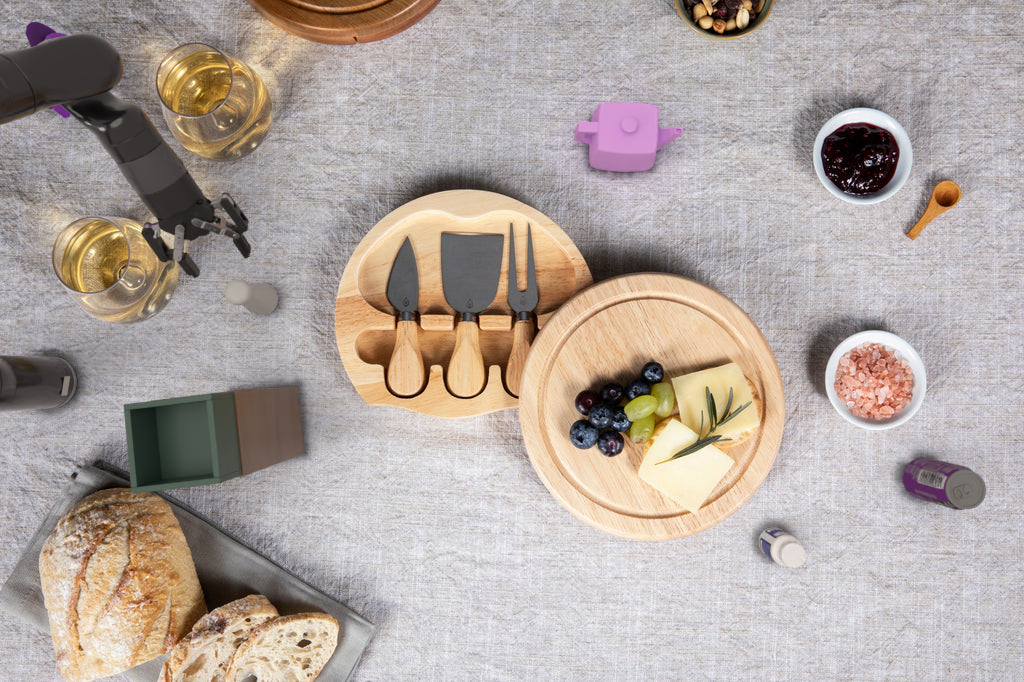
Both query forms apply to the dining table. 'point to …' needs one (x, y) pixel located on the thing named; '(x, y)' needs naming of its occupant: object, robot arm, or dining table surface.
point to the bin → (182, 442)
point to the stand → (267, 426)
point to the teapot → (624, 136)
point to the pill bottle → (782, 547)
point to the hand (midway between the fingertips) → (222, 265)
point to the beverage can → (944, 483)
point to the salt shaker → (252, 296)
